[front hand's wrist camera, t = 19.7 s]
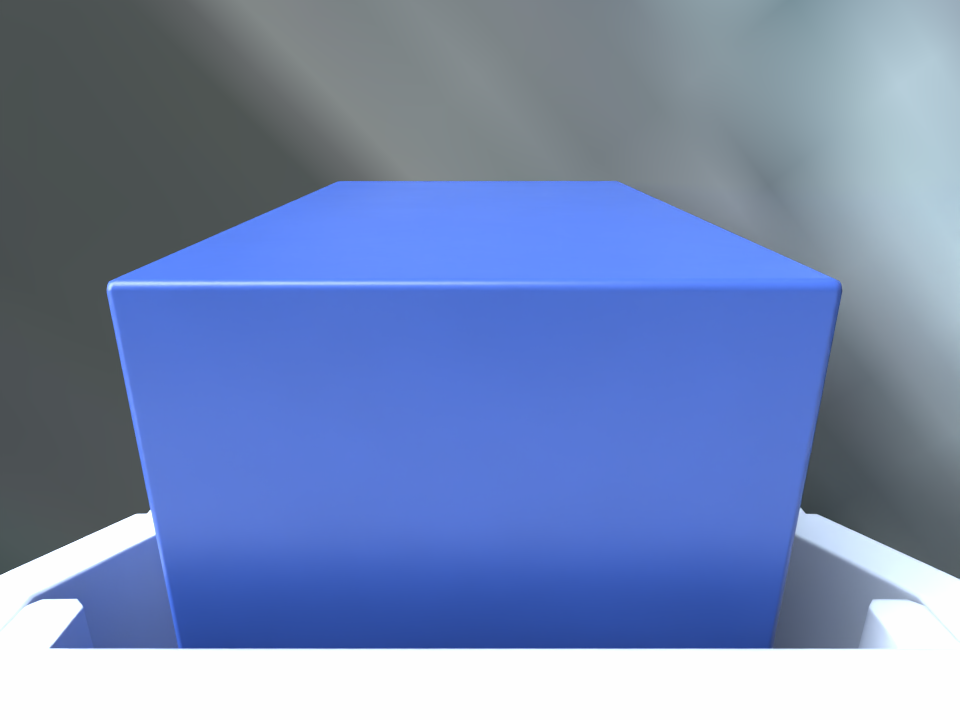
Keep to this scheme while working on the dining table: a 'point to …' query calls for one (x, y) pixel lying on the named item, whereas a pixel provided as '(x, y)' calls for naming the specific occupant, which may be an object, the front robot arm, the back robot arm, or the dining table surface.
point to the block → (475, 420)
